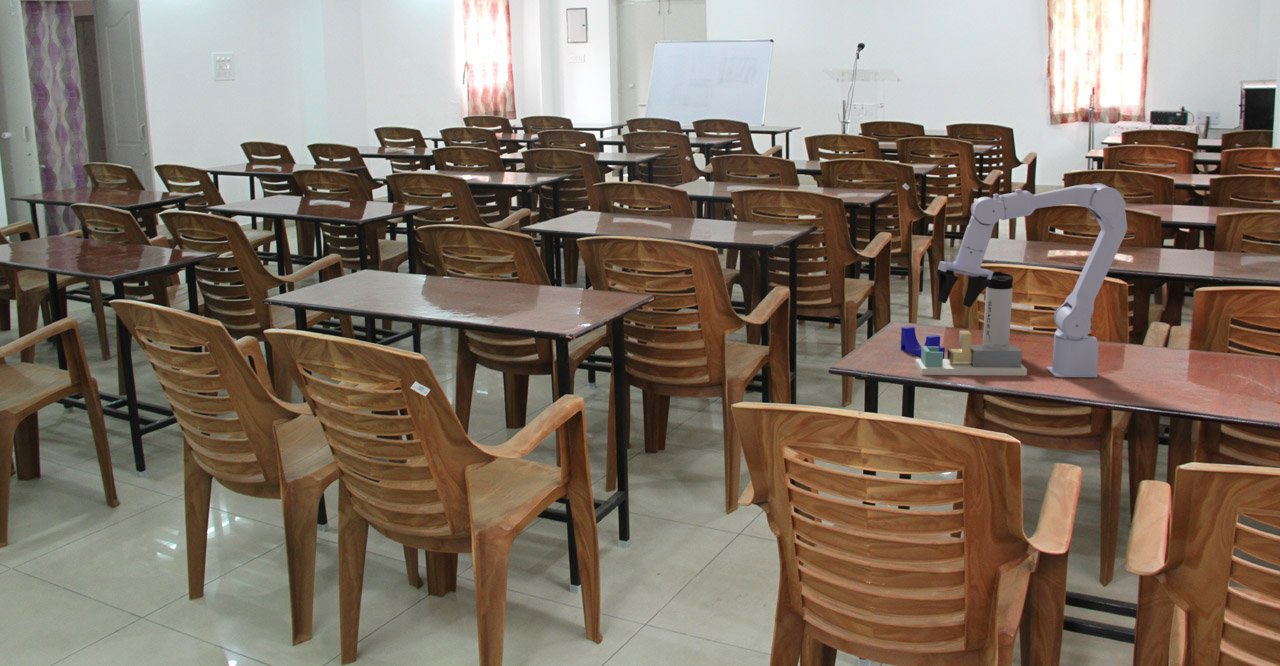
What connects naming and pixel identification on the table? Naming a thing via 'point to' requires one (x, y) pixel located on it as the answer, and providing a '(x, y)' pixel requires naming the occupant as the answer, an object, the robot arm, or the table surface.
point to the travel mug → (998, 309)
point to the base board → (967, 369)
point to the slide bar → (962, 349)
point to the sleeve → (996, 356)
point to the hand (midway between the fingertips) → (954, 303)
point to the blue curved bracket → (911, 343)
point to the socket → (931, 356)
